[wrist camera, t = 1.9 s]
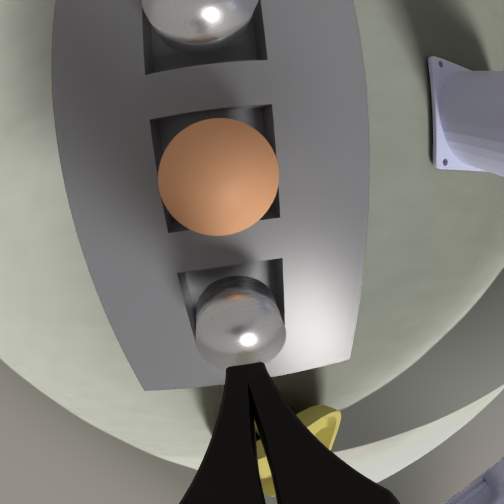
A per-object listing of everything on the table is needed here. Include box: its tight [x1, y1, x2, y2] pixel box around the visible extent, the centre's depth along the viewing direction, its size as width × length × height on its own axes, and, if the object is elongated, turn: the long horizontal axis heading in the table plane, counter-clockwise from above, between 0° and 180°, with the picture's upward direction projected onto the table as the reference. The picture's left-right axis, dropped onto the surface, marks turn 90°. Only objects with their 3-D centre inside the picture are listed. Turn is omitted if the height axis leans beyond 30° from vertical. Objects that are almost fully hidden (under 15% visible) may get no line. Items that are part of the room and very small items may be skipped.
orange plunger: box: [158, 118, 279, 236], centre depth 10 cm, size 4×4×2 cm
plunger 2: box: [196, 275, 286, 370], centre depth 13 cm, size 4×4×2 cm
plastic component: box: [254, 405, 341, 497], centre depth 24 cm, size 20×7×10 cm
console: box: [52, 0, 370, 391], centre depth 13 cm, size 14×26×3 cm, turn 5°
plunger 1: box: [142, 0, 258, 54], centre depth 7 cm, size 4×4×2 cm
